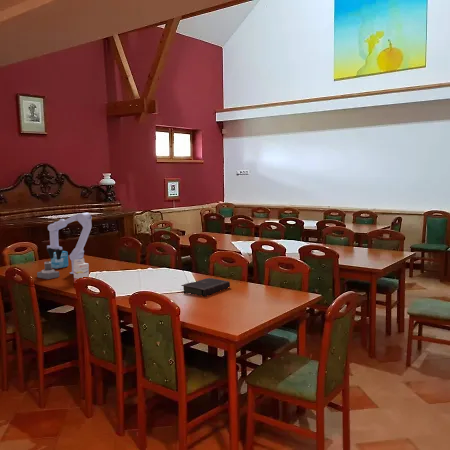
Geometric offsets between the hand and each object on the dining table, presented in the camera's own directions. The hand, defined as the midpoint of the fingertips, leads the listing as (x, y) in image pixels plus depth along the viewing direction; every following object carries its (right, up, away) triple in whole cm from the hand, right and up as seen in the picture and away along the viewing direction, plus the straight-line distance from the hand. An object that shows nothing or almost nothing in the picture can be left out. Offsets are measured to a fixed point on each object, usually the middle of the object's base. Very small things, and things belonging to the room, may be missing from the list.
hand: (55, 258), depth 338 cm
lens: (+1, -8, -15) cm, 17 cm away
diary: (+111, -15, -57) cm, 126 cm away
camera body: (0, -12, -14) cm, 18 cm away
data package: (-4, -8, +21) cm, 23 cm away
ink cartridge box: (+28, -13, -29) cm, 42 cm away
